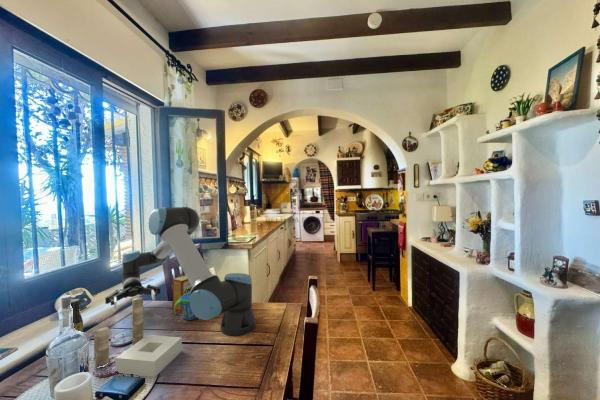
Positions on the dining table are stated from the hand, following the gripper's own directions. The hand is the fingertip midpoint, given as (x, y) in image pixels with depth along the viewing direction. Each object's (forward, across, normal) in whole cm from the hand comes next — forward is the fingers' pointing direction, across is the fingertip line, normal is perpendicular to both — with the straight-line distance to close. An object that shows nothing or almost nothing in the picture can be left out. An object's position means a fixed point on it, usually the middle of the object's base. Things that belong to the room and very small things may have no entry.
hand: (135, 301), depth 105 cm
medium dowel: (+17, +10, -14) cm, 24 cm away
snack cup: (-2, -23, -14) cm, 27 cm away
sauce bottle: (+3, +20, -14) cm, 24 cm away
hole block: (+24, -3, -14) cm, 28 cm away
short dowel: (+10, +11, -14) cm, 21 cm away
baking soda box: (-17, -23, -14) cm, 32 cm away
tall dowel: (+10, 0, -14) cm, 17 cm away
